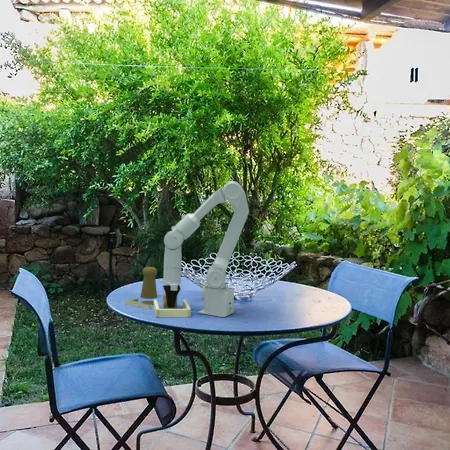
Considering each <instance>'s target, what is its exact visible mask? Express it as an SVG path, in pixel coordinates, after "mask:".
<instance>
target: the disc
mask: <svg viewBox="0 0 450 450" xmlns="http://www.w3.org/2000/svg"><path fill="white" fill-rule="evenodd" d="M141 302H142V303H148V304H152V306H153V304H154V300H153V301H152V300H142V301H141Z"/></svg>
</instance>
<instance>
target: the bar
mask: <svg viewBox="0 0 450 450" xmlns="http://www.w3.org/2000/svg"><path fill="white" fill-rule="evenodd" d="M124 305H125V306H128V307H135V308H141V309H146V310H152V309H153V305H152V304H148V303H142V301H139V298H138V297H132V298H129V299H126V300H125V301H124Z"/></svg>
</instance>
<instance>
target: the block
mask: <svg viewBox="0 0 450 450" xmlns="http://www.w3.org/2000/svg"><path fill="white" fill-rule="evenodd" d="M162 309H178V298H177V299H176V303H175V306H174V308H168V306H167V300H166V294H165V292H163V293H162Z"/></svg>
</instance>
